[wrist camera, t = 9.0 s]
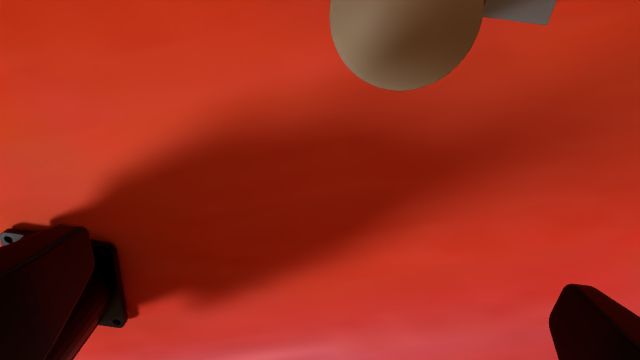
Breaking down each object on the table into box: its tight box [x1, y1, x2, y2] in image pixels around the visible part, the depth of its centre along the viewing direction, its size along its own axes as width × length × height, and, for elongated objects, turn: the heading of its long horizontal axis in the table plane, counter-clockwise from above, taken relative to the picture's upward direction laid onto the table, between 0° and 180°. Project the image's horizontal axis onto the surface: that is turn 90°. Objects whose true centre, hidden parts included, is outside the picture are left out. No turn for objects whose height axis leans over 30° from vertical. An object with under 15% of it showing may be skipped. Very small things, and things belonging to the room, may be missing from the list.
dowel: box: [330, 0, 484, 91], centre depth 13 cm, size 4×4×7 cm
